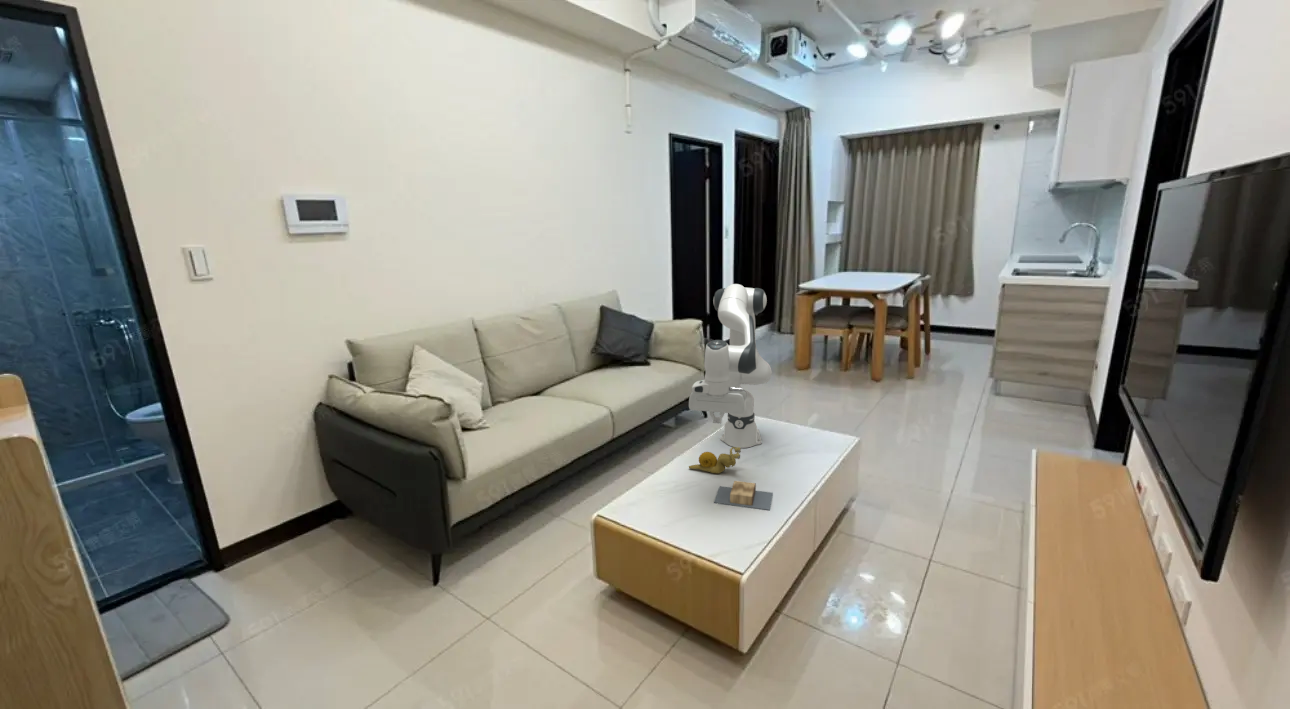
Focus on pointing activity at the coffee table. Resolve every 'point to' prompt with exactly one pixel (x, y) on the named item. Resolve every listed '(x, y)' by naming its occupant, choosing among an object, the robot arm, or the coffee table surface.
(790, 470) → the coffee table surface
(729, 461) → the toy
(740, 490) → the slab
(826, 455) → the coffee table surface
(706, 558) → the coffee table surface
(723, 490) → the mat
